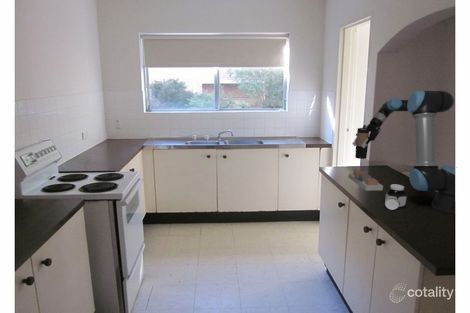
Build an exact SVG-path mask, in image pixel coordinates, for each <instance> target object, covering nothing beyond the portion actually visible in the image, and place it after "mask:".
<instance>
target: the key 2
mask: <svg viewBox="0 0 470 313" xmlns="http://www.w3.org/2000/svg"><path fill="white" fill-rule="evenodd" d="M364 183H366V184H367V185H378V183H379V181H378V180H377V179H376V178H374V177H373V178H365V181H364Z"/></svg>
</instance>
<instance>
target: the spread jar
mask: <svg viewBox="0 0 470 313" xmlns="http://www.w3.org/2000/svg"><path fill="white" fill-rule="evenodd" d="M384 198H385V201H384V205H385V207H386V208H387V209H388V210H391V211H392V210H397V209H402V208H403V207H405V206H406V204H407V198H408V197H407V192H406V191H405V186H403V185H401V184H396V183H395V184H394V183H392V184H391V185H390V186H389V188H388V189H387V190H386V193H385V197H384Z"/></svg>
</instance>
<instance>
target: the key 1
mask: <svg viewBox="0 0 470 313" xmlns="http://www.w3.org/2000/svg"><path fill="white" fill-rule="evenodd" d="M352 173H353V175H355V176H356V177H359V174H367V173H366V172H365V171H363V170H353V171H352Z"/></svg>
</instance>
